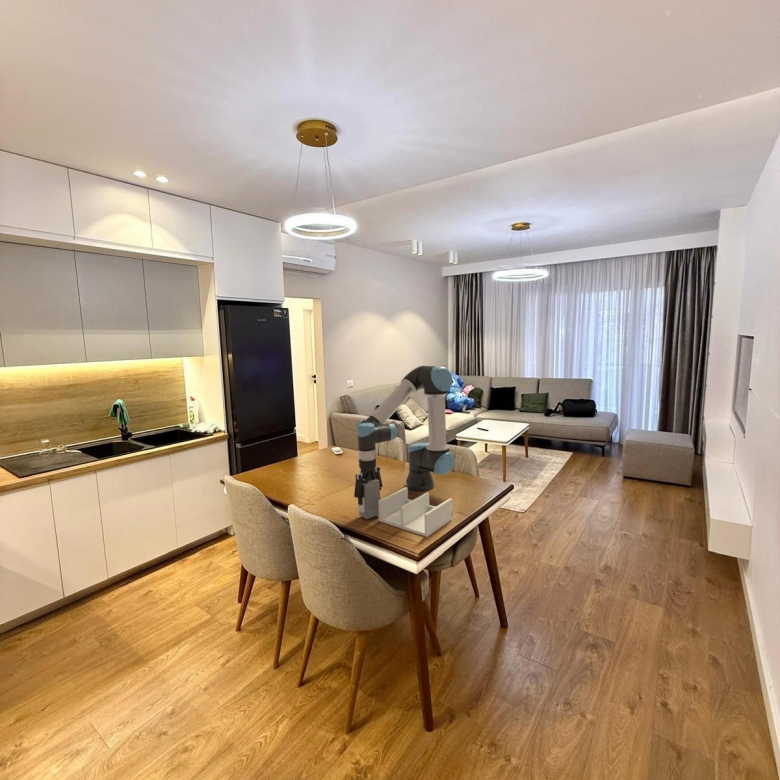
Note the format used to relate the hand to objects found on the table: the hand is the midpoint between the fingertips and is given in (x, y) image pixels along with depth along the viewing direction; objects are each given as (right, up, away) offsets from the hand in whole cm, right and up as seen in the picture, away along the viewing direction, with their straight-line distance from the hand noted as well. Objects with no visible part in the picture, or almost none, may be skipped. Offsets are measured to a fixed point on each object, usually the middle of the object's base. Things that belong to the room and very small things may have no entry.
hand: (369, 507), depth 181 cm
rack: (+20, -4, -4) cm, 21 cm away
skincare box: (0, -3, +1) cm, 3 cm away
